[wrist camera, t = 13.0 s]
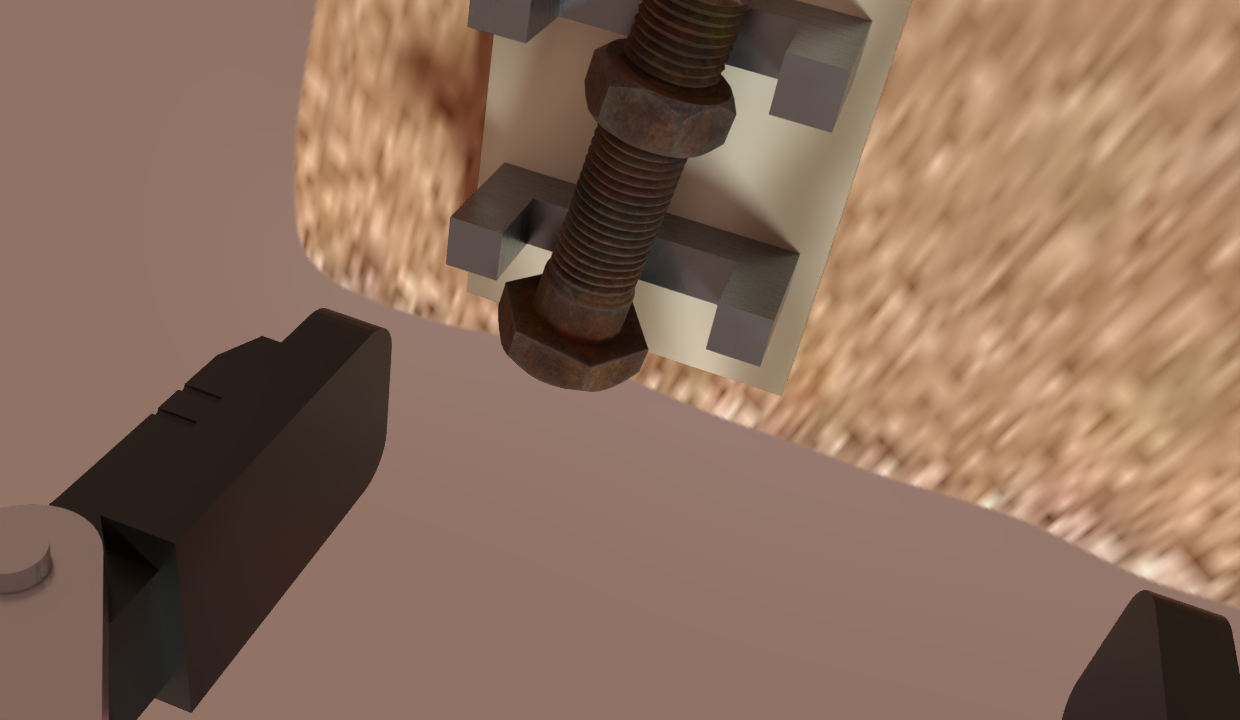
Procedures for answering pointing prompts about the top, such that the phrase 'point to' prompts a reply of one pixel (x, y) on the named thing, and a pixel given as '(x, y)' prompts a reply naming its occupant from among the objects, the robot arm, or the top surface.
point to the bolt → (624, 192)
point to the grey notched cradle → (684, 249)
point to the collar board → (697, 174)
